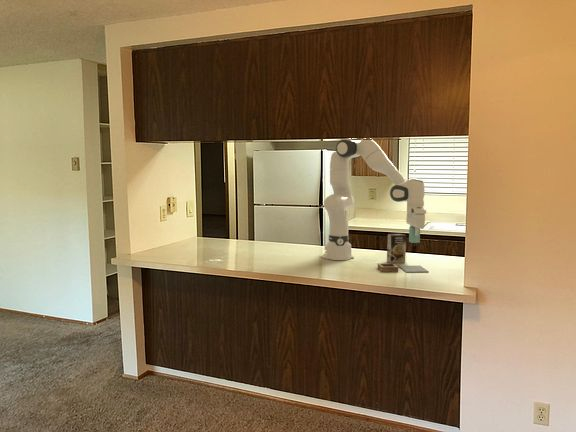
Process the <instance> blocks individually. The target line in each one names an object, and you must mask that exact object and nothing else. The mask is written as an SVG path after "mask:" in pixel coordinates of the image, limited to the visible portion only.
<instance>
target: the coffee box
mask: <svg viewBox="0 0 576 432" xmlns="http://www.w3.org/2000/svg"><path fill="white" fill-rule="evenodd" d="M386 247H387V248H386V262H388V263H394V264H397V263H398V264H399V263H406V253H407V252H406V250H407V235H406V234H404V233H388V234H387V246H386Z"/></svg>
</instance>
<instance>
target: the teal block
mask: <svg viewBox="0 0 576 432" xmlns="http://www.w3.org/2000/svg"><path fill="white" fill-rule="evenodd" d="M408 227H409V229H408V230H409V231H408V232H409V233H408V242H409V243H411V244H412V243H413V244H414V243H415V244H418V243H421V242H420V241H421V228H419V232H418V236H416V235H414V232H415V227H410V226H408Z"/></svg>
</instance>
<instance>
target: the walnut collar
mask: <svg viewBox="0 0 576 432" xmlns="http://www.w3.org/2000/svg"><path fill="white" fill-rule="evenodd" d="M377 269H378V270H379V271H380V272H381V273H389V272H388V271H392V272H393V273H396V272H397V273H398V272H399V265H398V266H397V264H396V263H390V262H388V263H386V262H384V263H377Z"/></svg>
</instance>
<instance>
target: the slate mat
mask: <svg viewBox="0 0 576 432" xmlns="http://www.w3.org/2000/svg"><path fill="white" fill-rule="evenodd" d="M398 268H400V269H401V270H402V271H404V272H405V273H407V274H410V273H411V274H412V273H413V274H414V273H415V274H416V273H418V274H419V273H421V274H423V273H427V274H428V273H429V271H428V270H427V269H426V268H425V267H423V266H421V265H398Z"/></svg>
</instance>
